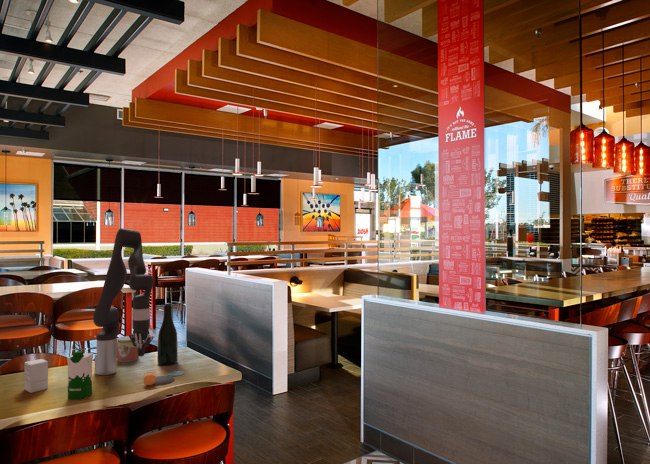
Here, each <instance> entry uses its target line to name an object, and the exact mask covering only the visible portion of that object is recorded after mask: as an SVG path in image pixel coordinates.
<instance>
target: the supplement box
mask: <svg viewBox="0 0 650 464" xmlns="http://www.w3.org/2000/svg"><path fill="white" fill-rule="evenodd" d="M48 367H49V362H48V360H45V359H43V358H40V359H39V358H38V359H34V360H28V361H25V362H24V391H26V392H28V393H30V394H31V393H36V392H39V391H43V390H48V389H49V368H48Z"/></svg>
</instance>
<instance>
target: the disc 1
mask: <svg viewBox="0 0 650 464" xmlns="http://www.w3.org/2000/svg"><path fill="white" fill-rule="evenodd" d="M155 377H156V381H155V383H154V384H152V385H149V386H151V387H153V386H154V387H156V386H164V385H168V384H171V383H173V382H174V381H175V379H176V378H175V376H169V375H158V376H155ZM143 384H144V385H146V384H145V383H144V382H143Z"/></svg>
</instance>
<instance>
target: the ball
mask: <svg viewBox="0 0 650 464" xmlns="http://www.w3.org/2000/svg"><path fill="white" fill-rule="evenodd" d="M156 377H157V376H156V375H155V374H154V373H152V372H148V373H147V374H145V375H144V376H143V378H142V379H143V381H142V382H143V384H144V383H145V384H144V385H146V386H150V385H152V384H154V383H155V381H156Z"/></svg>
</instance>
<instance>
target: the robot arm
mask: <svg viewBox="0 0 650 464" xmlns="http://www.w3.org/2000/svg"><path fill="white" fill-rule="evenodd" d="M114 239H115V240H114V243H113V248H112V249H113V250H112V253H111V258H110V261H109V265H108V269H107V272H106V274H105V275H106V276H105V280H104V284H103V286H102V291H101V294H100V296H99V299H98V302H97V305H96V306H95V308H94V309H95V310H94V313H93V315H92V316H93V318H92V320H93V324H94V326H96V327H98V328H101V330H100V331H98V333H97V334H96V354H95V355H94V374H95V375H97V376H108V375H112V374H115V373H116V372H117V362H118V361H117V339H118V338H117V335H118V333H119V327H120V313H119V310H118V309H117V307H114V306H112V305H113V303H114V300H115V299H116V298H117V296H118V295H119V294H120V292H121V291H122V290H123V288H124V286H125V284H126V280H127V276H128V270H127V267H126V265H125V261H124V260H123V256H122V253H123V252H122V251H123V248H128V249H133V252H132V253H131V254H130V256H129V258H128V261H127V265H128V269H129V274H130V275H129V282H128V287H129V288H130V290H132V291H143V292H142V293H141V294H138V295H135V296H134V297H133V298H132V316H131V317H132V321H131V322H132V323H131V325H132V326H131V327H132V330H133V331H132V333H131V334H130V335H128V336H129V338H130V340H131V341H132V343H133V345H134V346H136V347H137V348H138V356H139V357H144V356H145V351H146V350H145V349H146V348H147V347H149V346H150V344H151V343H152V342H153V340H154V339H155V337H154V336H153V335H151V334H150V327H151V311H150V307H151V306H150V305H151V304H150V301H151V300H150V299H151V295H152V291H153V287H154V283H155V282H154V281H155V279H154V276H153V275H151V274H146V273H147V267H146V264H145V260H144V257H143V243H142V242H143V241H142V240H143V239H142V234H141V232H139V231H138V230H136V229H131V228H130V229H129V228H123V227H121V228H119V229H118V230H117V232H116V235H115V238H114ZM138 340H139V341H138ZM135 342H136V343H135Z"/></svg>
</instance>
